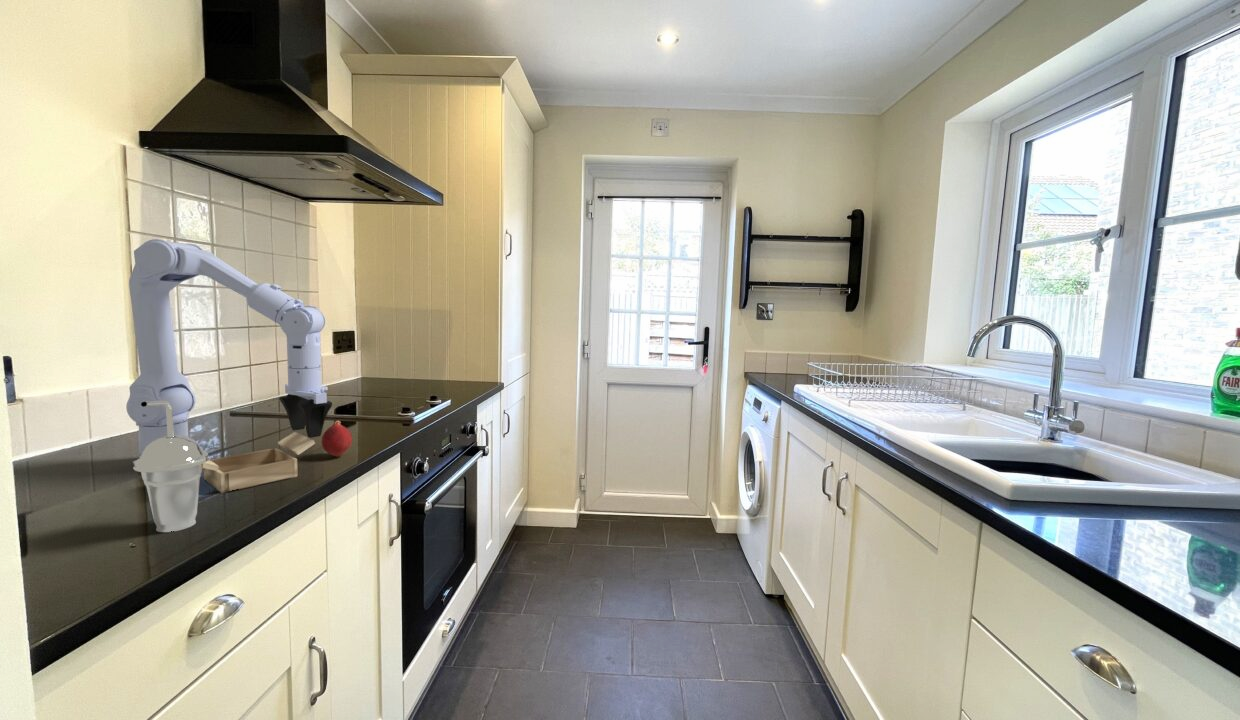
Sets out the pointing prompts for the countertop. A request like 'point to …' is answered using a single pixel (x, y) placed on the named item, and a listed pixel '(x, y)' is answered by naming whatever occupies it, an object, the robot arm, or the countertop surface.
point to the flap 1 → (210, 465)
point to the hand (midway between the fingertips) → (306, 433)
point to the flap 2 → (296, 443)
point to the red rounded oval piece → (336, 439)
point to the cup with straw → (172, 476)
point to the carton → (251, 469)
